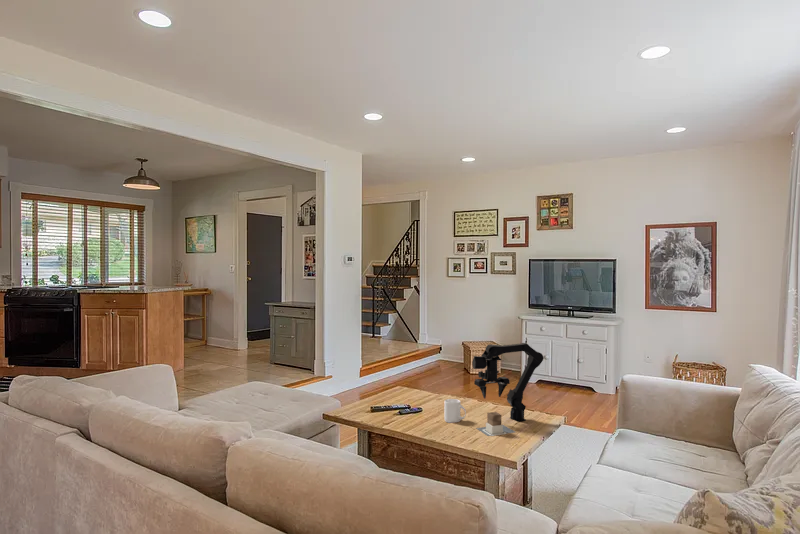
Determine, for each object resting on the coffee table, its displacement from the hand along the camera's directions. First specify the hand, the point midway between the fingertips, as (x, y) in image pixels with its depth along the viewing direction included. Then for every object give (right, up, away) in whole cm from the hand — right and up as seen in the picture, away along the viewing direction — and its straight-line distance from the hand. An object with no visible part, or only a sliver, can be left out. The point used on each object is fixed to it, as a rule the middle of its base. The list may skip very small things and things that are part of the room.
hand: (492, 397), depth 254 cm
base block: (-3, -12, -19) cm, 23 cm away
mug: (-20, -13, -1) cm, 24 cm away
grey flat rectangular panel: (-1, -12, -17) cm, 21 cm away
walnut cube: (-3, -8, -19) cm, 21 cm away
